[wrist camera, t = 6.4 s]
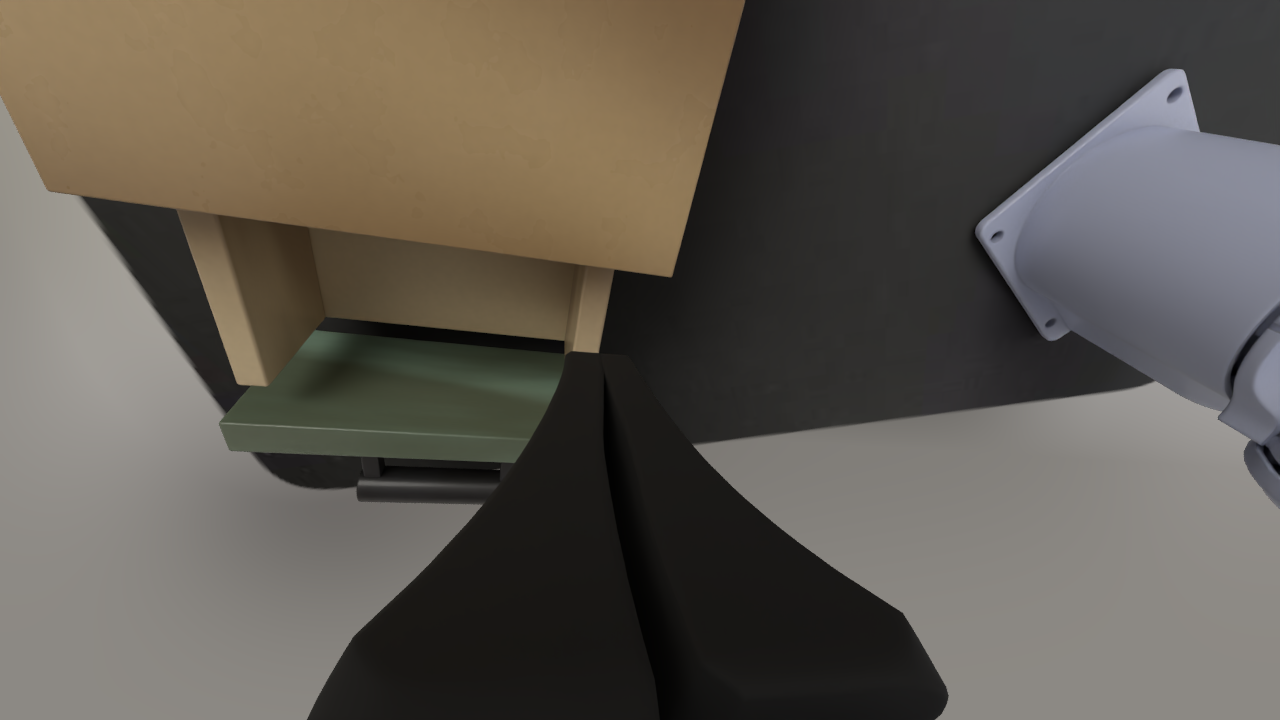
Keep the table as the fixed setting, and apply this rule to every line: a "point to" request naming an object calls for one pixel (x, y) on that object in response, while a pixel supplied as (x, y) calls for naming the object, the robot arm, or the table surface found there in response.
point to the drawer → (389, 349)
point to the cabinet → (384, 115)
